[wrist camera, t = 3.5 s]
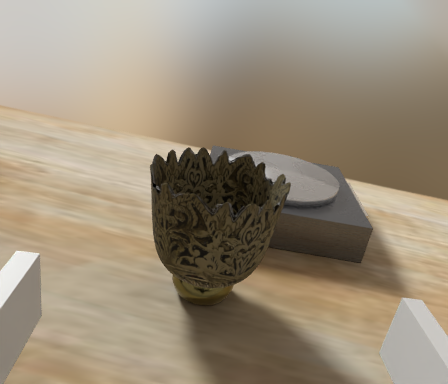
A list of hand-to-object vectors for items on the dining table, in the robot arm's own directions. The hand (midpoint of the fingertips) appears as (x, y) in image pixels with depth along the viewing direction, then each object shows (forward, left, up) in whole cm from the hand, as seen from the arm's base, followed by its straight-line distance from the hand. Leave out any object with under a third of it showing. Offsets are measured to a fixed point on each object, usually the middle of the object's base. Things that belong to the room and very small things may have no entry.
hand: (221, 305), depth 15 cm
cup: (-1, +8, -6) cm, 10 cm away
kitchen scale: (+4, +21, -6) cm, 23 cm away
